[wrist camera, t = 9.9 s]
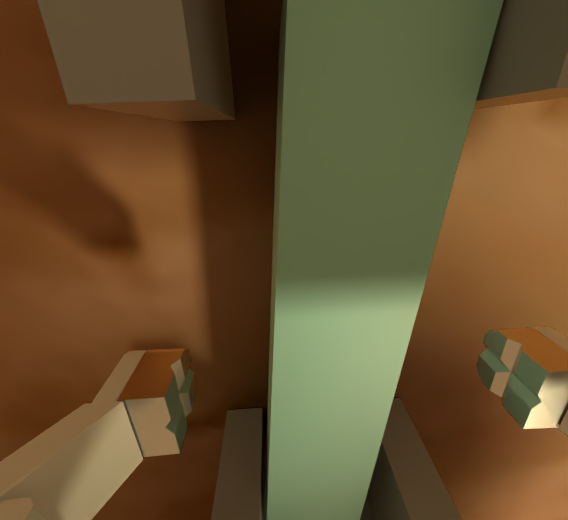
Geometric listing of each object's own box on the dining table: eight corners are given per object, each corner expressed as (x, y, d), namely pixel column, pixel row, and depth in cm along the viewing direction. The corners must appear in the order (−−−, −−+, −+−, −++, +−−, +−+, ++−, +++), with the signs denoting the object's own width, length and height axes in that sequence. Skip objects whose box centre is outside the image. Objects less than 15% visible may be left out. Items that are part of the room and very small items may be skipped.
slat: (279, 29, 8) (289, -66, 4) (401, 38, 8) (515, -44, 4) (266, 430, 14) (266, 533, 10) (334, 428, 14) (357, 529, 11)
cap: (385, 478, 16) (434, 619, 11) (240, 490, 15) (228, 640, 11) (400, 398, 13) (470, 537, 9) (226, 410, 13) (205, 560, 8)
